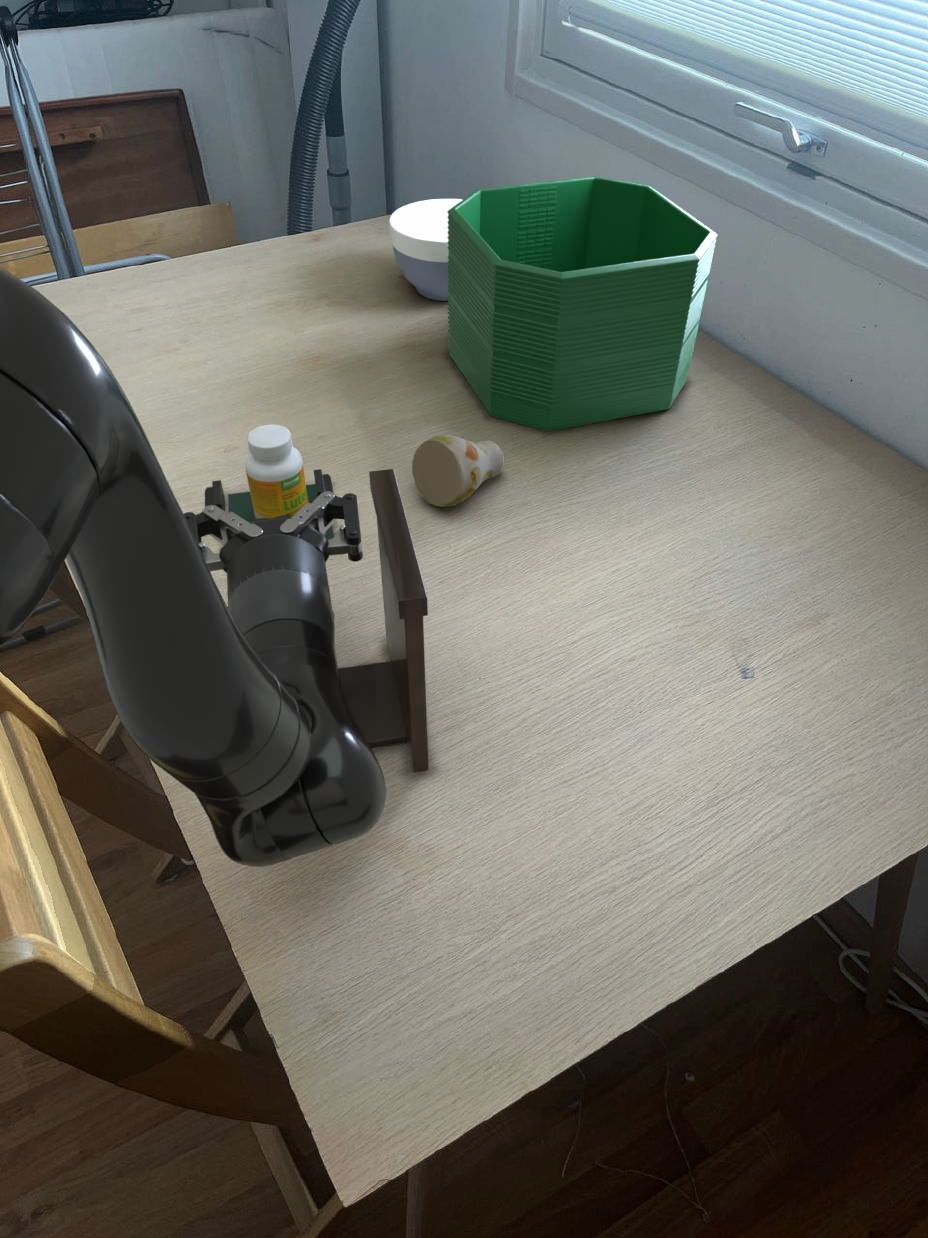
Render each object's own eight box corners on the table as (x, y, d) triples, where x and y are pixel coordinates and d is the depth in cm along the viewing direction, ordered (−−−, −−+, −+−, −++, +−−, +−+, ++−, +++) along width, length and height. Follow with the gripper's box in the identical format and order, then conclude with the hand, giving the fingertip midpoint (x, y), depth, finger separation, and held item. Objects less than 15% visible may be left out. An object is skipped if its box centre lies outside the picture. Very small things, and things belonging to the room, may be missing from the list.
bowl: (474, 320, 120) (475, 250, 113) (372, 298, 124) (367, 229, 118) (519, 276, 130) (523, 209, 123) (423, 257, 135) (422, 191, 128)
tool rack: (230, 803, 64) (175, 631, 52) (227, 665, 74) (180, 492, 62) (432, 769, 67) (427, 597, 54) (403, 640, 76) (393, 468, 64)
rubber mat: (230, 558, 84) (230, 555, 84) (228, 497, 91) (228, 493, 91) (335, 545, 86) (334, 542, 85) (325, 485, 93) (325, 482, 92)
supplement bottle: (293, 541, 85) (279, 457, 78) (245, 528, 87) (227, 444, 80) (320, 510, 89) (309, 427, 82) (274, 497, 90) (259, 414, 83)
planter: (505, 440, 99) (513, 282, 86) (435, 336, 116) (433, 192, 103) (708, 403, 105) (744, 249, 92) (613, 309, 122) (632, 170, 110)
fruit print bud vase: (523, 479, 94) (511, 434, 84) (456, 539, 93) (435, 501, 84) (478, 436, 96) (461, 388, 87) (412, 494, 96) (387, 452, 86)
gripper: (373, 559, 63) (347, 436, 74) (169, 586, 61) (174, 455, 72) (379, 632, 68) (354, 507, 80) (192, 659, 66) (193, 527, 77)
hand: (268, 483), depth 76 cm, fingers open, 8 cm apart
